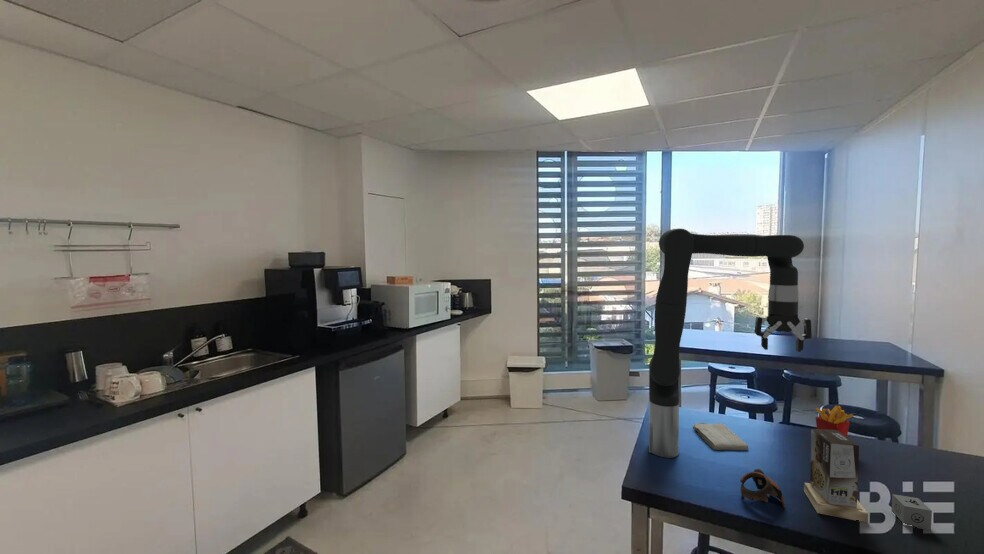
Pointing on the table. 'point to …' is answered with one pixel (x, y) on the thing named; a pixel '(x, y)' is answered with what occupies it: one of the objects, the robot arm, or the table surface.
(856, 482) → the coffee box
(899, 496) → the dice cube
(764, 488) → the pottery mug
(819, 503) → the riser
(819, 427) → the french fries
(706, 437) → the washcloth
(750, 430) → the table surface
